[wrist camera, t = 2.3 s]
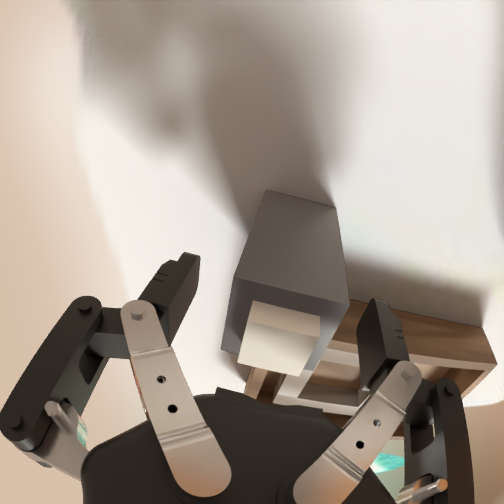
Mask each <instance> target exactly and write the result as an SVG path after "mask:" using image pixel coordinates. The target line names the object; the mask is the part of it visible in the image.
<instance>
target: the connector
mask: <svg viewBox="0 0 504 504" xmlns="http://www.w3.org/2000/svg"><path fill="white" fill-rule="evenodd" d="M349 305H350V303H349V294H348V285H347V277H346V269H345V262H344V255H343V248H342V241H341V235H340V228H339V222H338V216H337V211H336V208H334V207H331V206H327V205H323V204H320V203H316V202H312V201H308V200H304V199H301V198H297V197H293V196H289V195H285V194H281V193H277V192H272V191H268V190H266V193H265V195H264V198H263V201H262V203H261V206H260V208H259V211H258V214H257V216H256V219H255V222H254V224H253V227H252V229H251V232H250V235H249V237H248V240H247V242H246V245H245V248H244V250H243V253H242V256H241V258H240V261H239V263H238V266H237V269H236V271H235V274H234V277H233V282H232V288H231V294H230V299H229V305H228V311H227V317H226V322H225V328H224V334H223V340H222V346H221V350H224V351H228V352H231V353H235V354H239V357H238V361H237V363H241V364H245V365H249V366H253V367H257V368H261V369H266V370H270V371H275V372H279V373H284V374H289V375H293V376H298V377H299V375H300V373H301V372H302V370H303V369H305V370H310V371H313V370H314V369H315V367H316V365H317V364H318V362H319V360H320V358H321V357H322V355H323V353H324V352H325V350H326V348H327V346H328V344H329V343H330V341H331V339H332V337H333V335H334V334H335V332H336V330H337V328H338V326H339V324H340V322H341V321H342V319H343V317H344V315H345V313H346V311H347V309H348V307H349Z"/></svg>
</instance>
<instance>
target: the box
mask: <svg viewBox="0 0 504 504" xmlns="http://www.w3.org/2000/svg"><path fill="white" fill-rule="evenodd" d="M349 303H350V305H349V307H348V309H347V311H346V313H345V315H344V317H343V319H342V321H341V322H340V324H339V326H338V328H337V330H336V332H335V334H334V335H333V337H332V339H331V341H330V343H329V344H328V346H327V348H326V350H325V352H324V353H323V355H322V357H321V358H320V360H319V362H318V364H317V365H316V367H315V369H314V370H313V371H310V370H305V369H303V370H302V372H301V373H300V375H299V377H298V376H293V375H289V374H284V373H279V372H275V371H270V370H266V369H261V368H257V367H253V366H252V367H251V370H250V373H249V377H248V380H247V383H246V386H245V391H244V394H245V395H248V396H250V397H252V398H254V399H256V400H258V401H260V402H263V403H265V404H267V405H270V406H283V405H302V406H308V407H314V408H321V409H323V417H325V418H327V419H329V420H331V421H333V422H334V423H336V424H337V425H338V426H339V427H340V428H342V427H343V426H344V425H345V424H346V423H347V422H348V421H349V420H350V419H351V417H352V416H353V415H354V414H355V413H356V412H357V410H358V409H359V408H360V407H361V406H362V405H363V403H364V402H365V401H366V400H367V398H368V397H369V396H370V391H363V390H361V379H360V367H359V356H358V346H357V336H356V330H357V326H358V323H359V321H360V319H361V317H362V315H363V313H364V311H365V310H366V308H367V306H368V304H367V303H363V302H359V301H354V300H350V299H349ZM390 311H391V313H392V314H395V315H396V317H397V318H398V320H399V321H400V323H401V326H402V330H403V331H402V332H403V334H404V339H405V342H406V346H407V350H408V354H409V359H410V362H412V363H413V364H415V365H416V366H417V367H418V368H419V370H420V371H421V374H422V378H423V379H425V380H428V381H430V382H432V383H435V384H436V383H437V382H438V381H439V380H440V379H442V378H448V379H450V380H452V381H453V382H455V383H456V385H457V386H458V388H459V390H460V394H461V398H462V399H463V398H464V397H465V396H466V395H467V394H468V393H470V392H471V391H472V390H473V389H474V388H475V387H476V386H477V385H478V384H479V383H480V382H481V381H482V380H483V379H484V378H485V377H486V376H487V375H488V374H489V373H490V372H491V371H492V370H493V369H494V368H495V366H496V365H497V362H496V359H495V357H494V354H493V352H492V349H491V347H490V344H489V342H488V340H487V337H486V335H485V333H484V330H483V328H479V327H474V326H469V325H464V324H459V323H455V322H450V321H445V320H440V319H436V318H431V317H426V316H421V315H417V314H412V313H408V312H403V311H399V310H394V309H390ZM389 440H404V426H403V422H402V421H401V423H400V424H399V426H398V427H397V429H396V430H395V432H394V433H393V435H392V436H391V438H390V439H389Z"/></svg>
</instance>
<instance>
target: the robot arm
mask: <svg viewBox="0 0 504 504" xmlns="http://www.w3.org/2000/svg"><path fill="white" fill-rule="evenodd" d="M199 269H200V256H199V255H195V254H191V253H187V252H184V253H183V254H182V255H181V257H180V258H179V260H178V261H174V260H169V261H168V262H166V263H164V264H163V265H162V266H161V267H160V268H159V270H158V271H157V273H156V274H155V275H154V277H153V279H152V280H151V281H150V282H149V284H148V285H147V287H146V288H145V289H144V291H143V292H142V294H141V295H140V297H139V298H138V300H133V301H130V302H128V303H126V304H125V305H124V306H123V307H122V308H106V307H102V305H101V302H100V301H99V300H98V299H97V298H95V297H92V296H82V297H79V298H77V299H75V300H74V301H73V302H72V303H71V304H70V306H69V307H68V308H67V310H66V311H65V313H64V314H63V315H62V317H61V318H60V319H59V321H58V322H57V324H56V325H55V326H54V328H53V329H52V330H51V332H50V333H49V335H48V336H47V338H46V339H45V341H44V342H43V343H42V345H41V346H40V348H39V349H38V351H37V353H36V354H35V355H34V357H33V359H32V360H31V362H30V363H29V365H28V366H27V368H26V369H25V371H24V373H23V374H22V376H21V377H20V379H19V381H18V382H17V384H16V386H15V387H14V389H13V391H12V392H11V394H10V396H9V398H8V399H7V401H6V403H5V405H4V407H3V409H2V410H1V412H0V430H1V432H2V434H3V435H4V436H5V437H6V438H7V439H8V440H9V441H11V442H12V443H13V444H14V445H15V446H16V447H17V448H18V449H19V450H20V451H22V452H23V453H24V454H26V455H27V456H28V457H29V458H31V459H32V460H34V461H36V462H38V463H39V464H40V465H42V466H44V467H49V468H51V467H54V468H56V469H58V470H59V471H61V472H63V473H65V474H67V475H69V476H71V477H73V478H75V479H77V480H79V481H81V483H82V489H83V504H475V503H474V482H473V471H472V460H471V451H470V444H469V437H468V430H467V425H466V419H465V413H464V408H463V403H462V398H461V394H460V390H459V388H458V386H457V385H456V383H455V382H453V381H452V380H450V379H448V378H442V379H440V380H439V381H438V382H437V383H436V384H435V383H432V382H430V381H428V380H425V379H423V378H422V374H421V371H420V370H419V368H418V367H417V366H416V365H415V364H413V363H412V362H410V359H409V354H408V350H407V346H406V342H405V339H404V334H403V332H402V331H403V330H402V326H401V323H400V321H399V320H398V318H397V317H396V315H395V314H392V313H391V311H390V307H389V303H388V302H387V301H383V300H379V299H374V298H373V299H371V300H370V302H369V304H368V306H367V308H366V310H365V311H364V313H363V315H362V317H361V319H360V321H359V323H358V326H357V330H356V336H357V346H358V356H359V367H360V379H361V390H363V391H370V396H369V397H368V398H367V400H366V401H365V402H364V403H363V405H362V406H361V407H360V408H359V409H358V410H357V412H356V413H355V414H354V415H353V416H352V417H351V419H350V420H349V421H348V422H347V423H346V424H345V425H344V426H343V427H342V428H340V427H339V426H338V425H337V424H336V423H334V422H333V421H331V420H329V419H327V418H325V417H323V409H321V408H314V407H308V406H302V405H283V406H270V405H267V404H265V403H263V402H260V401H258V400H256V399H254V398H252V397H250V396H248V395H245V394H243V393H239V392H235V391H231V390H227V389H223V388H219V387H217V389H216V392H215V394H201V395H196V396H193V395H192V393H191V391H190V389H189V386H188V384H187V382H186V379H185V377H184V375H183V372H182V370H181V367H180V365H179V362H178V360H177V358H176V355H175V352H174V350H173V348H172V347H171V346H170V345H171V343H172V341H173V339H174V337H175V335H176V333H177V331H178V329H179V327H180V324H181V322H182V320H183V318H184V316H185V314H186V312H187V310H188V308H189V306H190V304H191V302H192V300H193V298H194V296H195V294H196V291H197V287H198V281H199ZM109 358H121V359H129V360H130V364H131V368H132V371H133V375H134V378H135V382H136V385H137V388H138V392H139V395H140V398H141V402H142V405H143V408H144V411H145V414H146V417H147V421H145V422H143V423H141V424H139V425H137V426H135V427H133V428H131V429H129V430H128V431H125V432H124V433H121V434H119V435H118V436H116V437H113V438H112V439H109V440H107V441H106V442H103V443H101V444H99V445H97V446H96V447H94V448H93V449H92V450H91V451H90V452H89V451H88V450H87V449H86V444H85V443H86V437H87V428H86V425H85V423H84V422H83V420H82V419H81V415H82V413H83V411H84V408H85V406H86V404H87V402H88V400H89V398H90V396H91V394H92V391H93V390H94V388H95V386H96V384H97V381H98V380H99V378H100V376H101V373H102V371H103V370H104V368H105V366H106V364H107V362H108V360H109ZM401 421H402V422H403V426H404V452H405V484H404V487H403V488H402V489H401V491H400V492H399V494H398V497H397V499H396V501H395V500H394V499H393V497H392V496H391V495H390V493H389V492H388V491H387V489H386V488H385V487H384V486H383V484H382V483H381V481H380V480H379V479H378V477H377V476H376V475H375V473H374V472H373V471H372V469H371V468H370V465H371V464H372V463H373V461H374V460H375V459H376V457H377V456H378V455H379V453H380V452H381V451H382V449H383V448H384V446H385V445H386V443H387V442H388V440H389V439H390V438H391V436H392V435H393V433H394V432H395V430H396V429H397V427H398V426H399V424H400V423H401ZM433 423H434V427H435V438H434V437H433V426H432V424H433Z"/></svg>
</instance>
